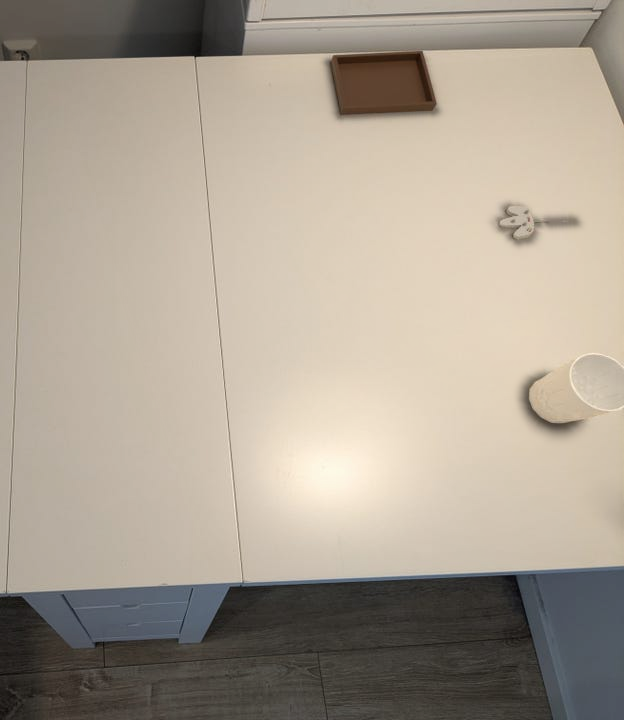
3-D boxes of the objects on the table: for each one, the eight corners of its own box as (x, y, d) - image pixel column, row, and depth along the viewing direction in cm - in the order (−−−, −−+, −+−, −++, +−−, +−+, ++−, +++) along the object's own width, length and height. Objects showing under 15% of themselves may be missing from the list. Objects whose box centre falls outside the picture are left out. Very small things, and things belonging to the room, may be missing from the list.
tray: (329, 65, 103) (333, 54, 100) (417, 61, 102) (422, 50, 100) (339, 117, 99) (343, 108, 96) (430, 113, 98) (437, 103, 96)
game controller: (489, 216, 91) (498, 207, 89) (550, 196, 92) (561, 186, 90) (508, 245, 89) (518, 236, 87) (570, 224, 90) (581, 214, 88)
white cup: (589, 408, 80) (647, 389, 71) (551, 439, 79) (605, 423, 69) (547, 366, 82) (598, 341, 73) (510, 395, 81) (556, 374, 72)
